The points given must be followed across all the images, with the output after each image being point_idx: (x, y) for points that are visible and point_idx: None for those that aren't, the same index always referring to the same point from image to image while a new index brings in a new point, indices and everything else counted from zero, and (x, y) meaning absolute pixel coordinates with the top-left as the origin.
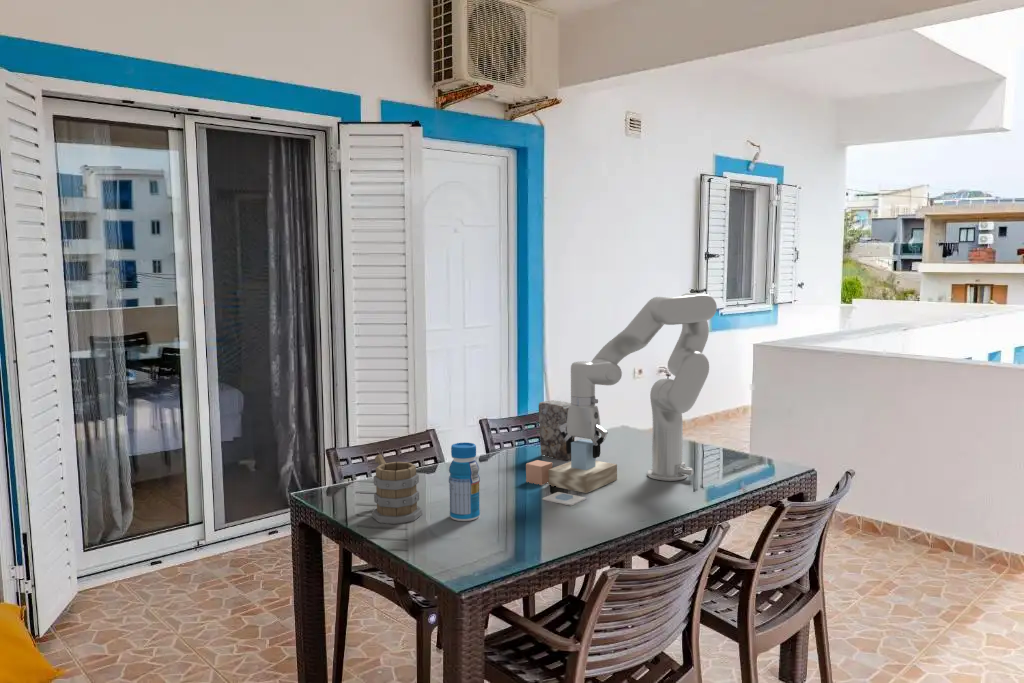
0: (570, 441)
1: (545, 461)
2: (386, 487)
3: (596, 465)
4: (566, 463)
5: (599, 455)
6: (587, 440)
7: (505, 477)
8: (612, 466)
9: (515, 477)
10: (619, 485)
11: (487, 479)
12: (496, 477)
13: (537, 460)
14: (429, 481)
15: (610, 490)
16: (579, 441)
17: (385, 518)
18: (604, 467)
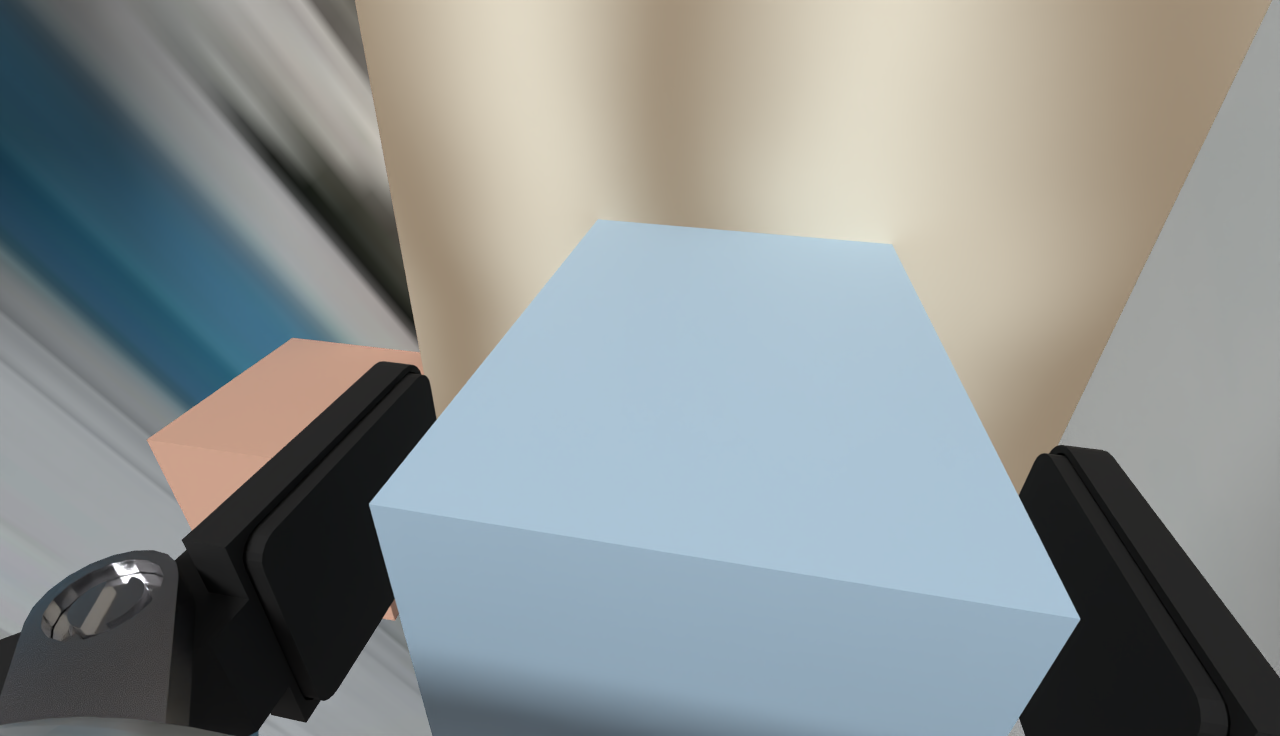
0: (304, 660)
1: (257, 455)
2: None
3: (886, 176)
4: (425, 305)
5: (1102, 463)
6: (683, 572)
7: (141, 432)
8: (1247, 45)
9: (180, 403)
10: (1238, 151)
11: (125, 512)
12: (110, 456)
13: (170, 457)
14: (17, 630)
15: (1136, 388)
16: (546, 726)
17: None
18: (1079, 226)
